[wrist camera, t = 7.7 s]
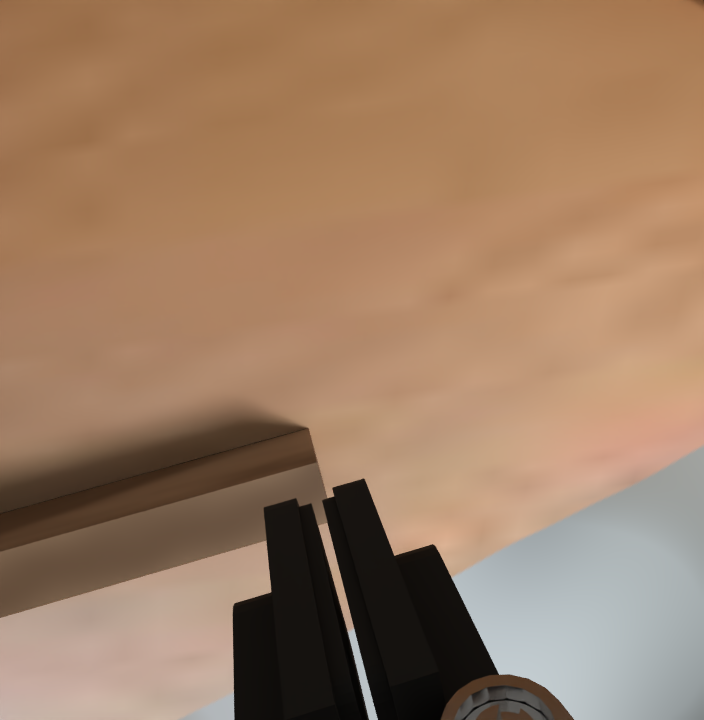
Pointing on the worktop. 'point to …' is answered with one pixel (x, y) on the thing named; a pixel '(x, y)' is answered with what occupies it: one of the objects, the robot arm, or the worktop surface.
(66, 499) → the brown angled block
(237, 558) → the worktop surface
